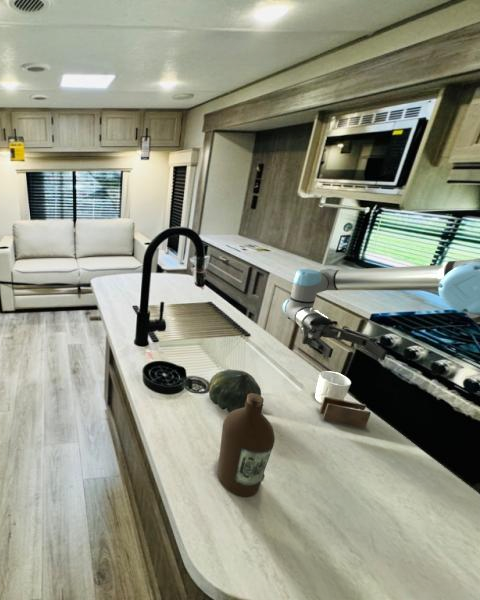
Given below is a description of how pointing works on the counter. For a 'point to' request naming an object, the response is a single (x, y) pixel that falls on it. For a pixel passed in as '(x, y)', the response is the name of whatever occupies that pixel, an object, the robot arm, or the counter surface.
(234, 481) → the olive oil
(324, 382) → the white cup
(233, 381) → the squash
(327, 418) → the holder
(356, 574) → the counter surface
